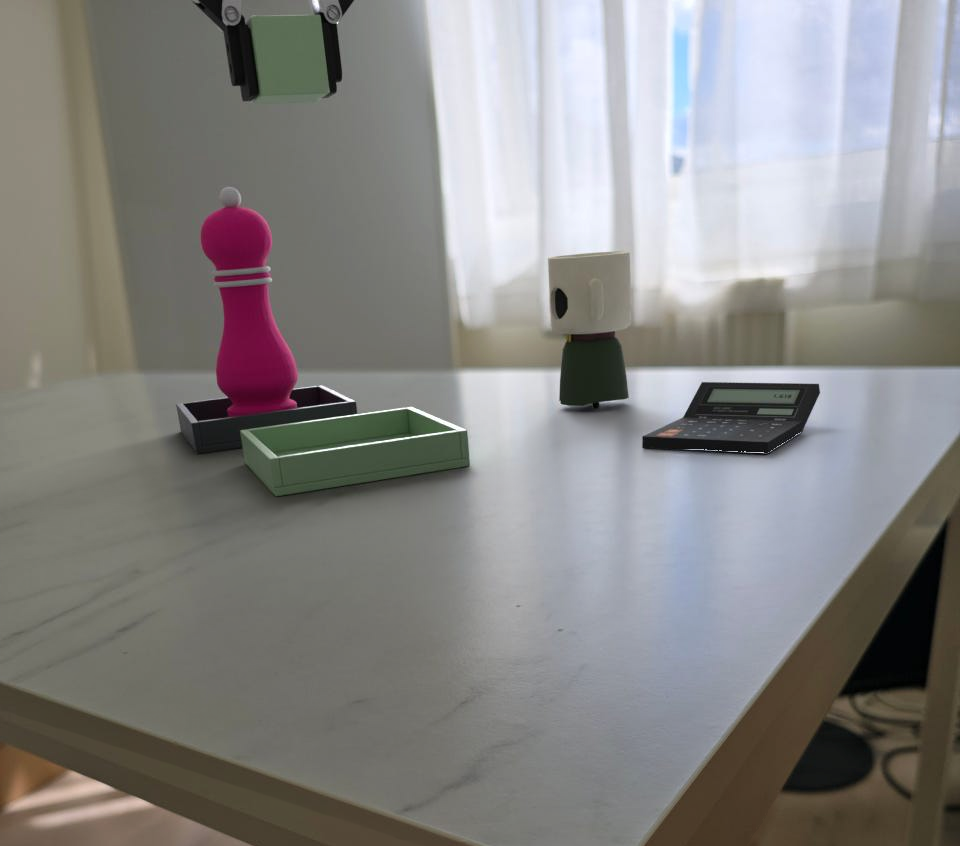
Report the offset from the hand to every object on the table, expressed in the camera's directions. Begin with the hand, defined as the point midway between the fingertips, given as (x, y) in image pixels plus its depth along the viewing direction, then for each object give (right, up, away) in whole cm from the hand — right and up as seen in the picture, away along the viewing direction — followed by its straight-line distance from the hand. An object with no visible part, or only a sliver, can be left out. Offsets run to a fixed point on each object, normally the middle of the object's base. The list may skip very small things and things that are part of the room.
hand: (289, 93), depth 69 cm
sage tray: (+3, -23, +9) cm, 25 cm away
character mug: (+23, -16, +24) cm, 37 cm away
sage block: (0, 0, 0) cm, 0 cm away
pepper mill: (-7, -17, +25) cm, 31 cm away
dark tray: (-7, -17, +25) cm, 32 cm away
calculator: (+32, -21, +8) cm, 39 cm away
